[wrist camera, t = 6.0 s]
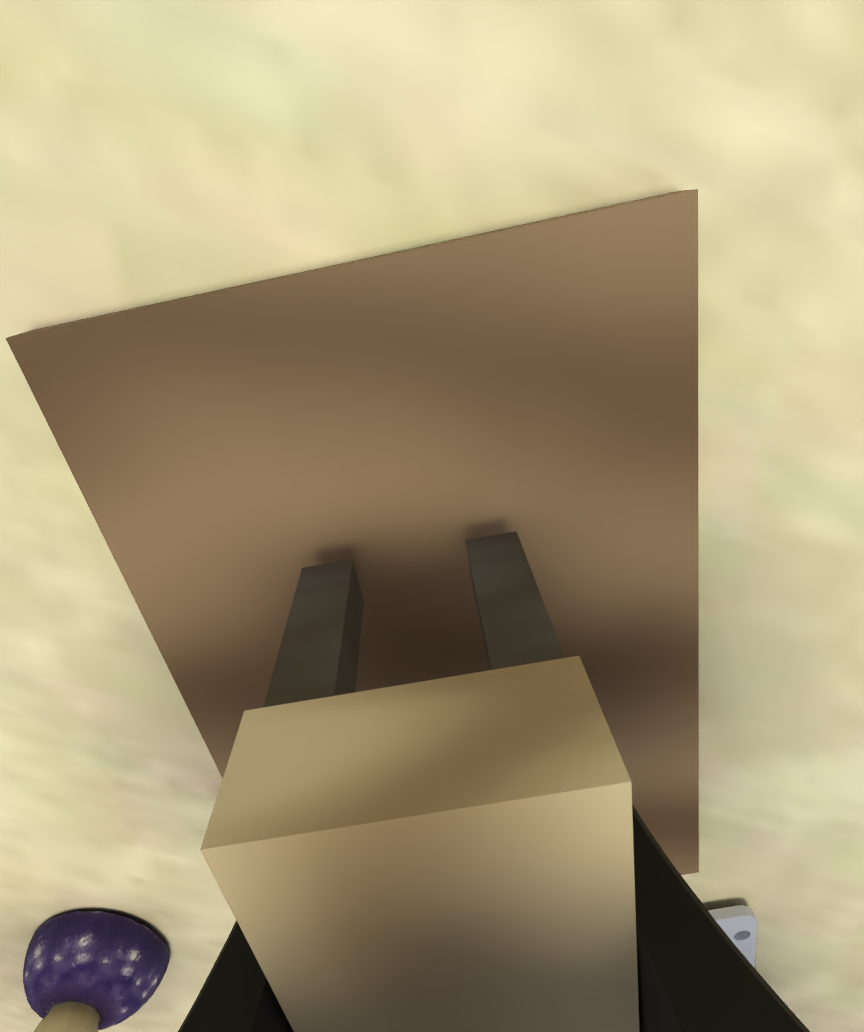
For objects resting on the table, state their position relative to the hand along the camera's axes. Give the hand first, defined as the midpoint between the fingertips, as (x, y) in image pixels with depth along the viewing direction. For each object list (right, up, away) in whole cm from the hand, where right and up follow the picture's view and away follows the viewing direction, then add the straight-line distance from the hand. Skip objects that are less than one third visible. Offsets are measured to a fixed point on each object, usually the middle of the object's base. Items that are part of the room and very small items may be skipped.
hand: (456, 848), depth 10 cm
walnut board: (0, +2, +5) cm, 5 cm away
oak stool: (0, +2, +3) cm, 4 cm away
